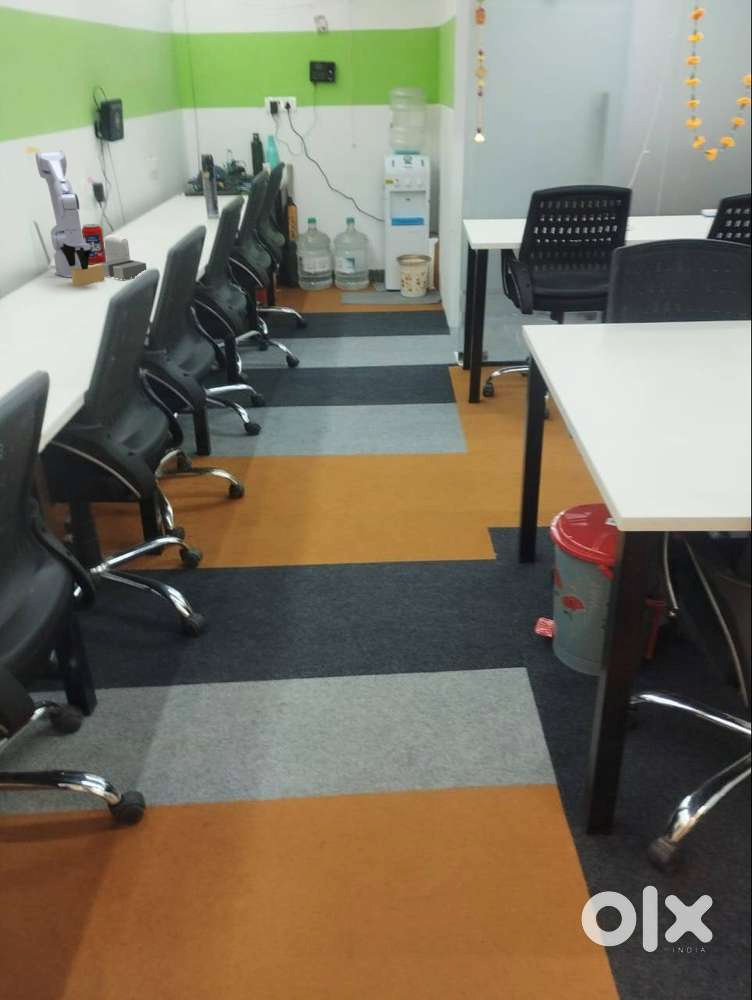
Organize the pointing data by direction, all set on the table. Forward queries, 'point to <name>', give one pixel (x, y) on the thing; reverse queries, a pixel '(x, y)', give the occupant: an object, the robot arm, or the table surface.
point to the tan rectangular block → (87, 275)
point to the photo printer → (116, 247)
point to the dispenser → (123, 268)
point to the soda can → (94, 243)
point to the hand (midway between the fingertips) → (78, 267)
